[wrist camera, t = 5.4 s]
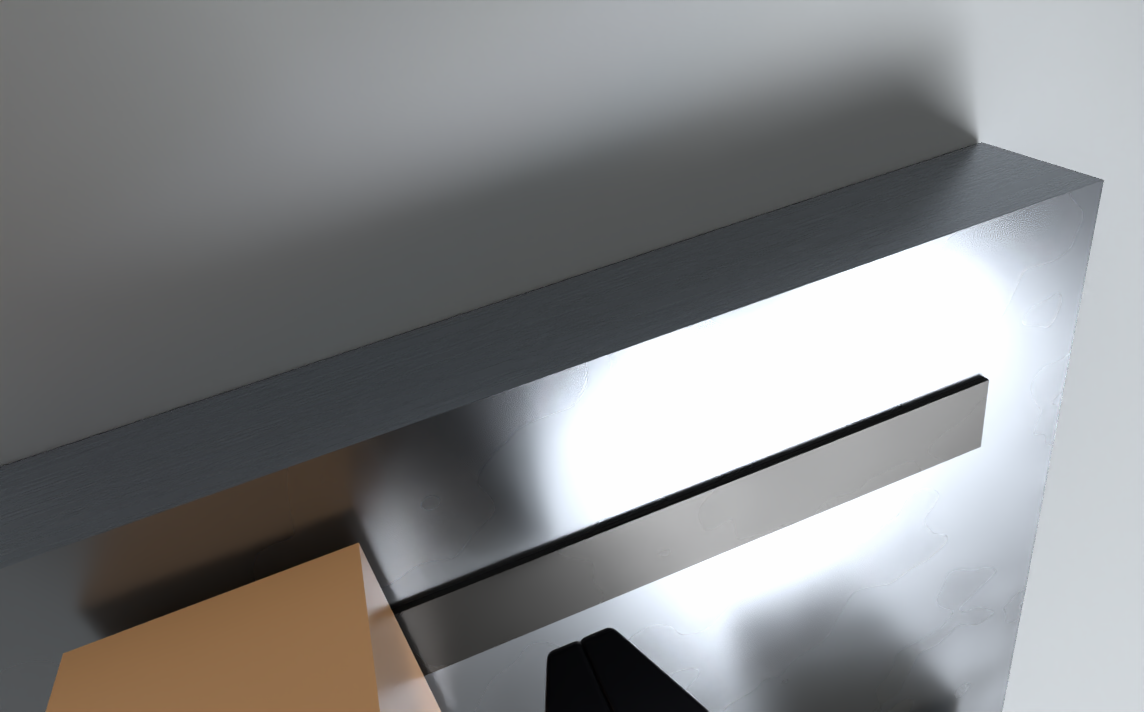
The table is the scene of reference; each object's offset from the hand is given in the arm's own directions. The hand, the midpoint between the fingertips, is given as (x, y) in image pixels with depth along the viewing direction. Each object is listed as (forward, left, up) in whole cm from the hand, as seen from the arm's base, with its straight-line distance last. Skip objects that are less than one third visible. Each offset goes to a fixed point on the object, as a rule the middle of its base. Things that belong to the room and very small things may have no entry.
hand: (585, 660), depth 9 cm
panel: (-1, +9, -3) cm, 10 cm away
